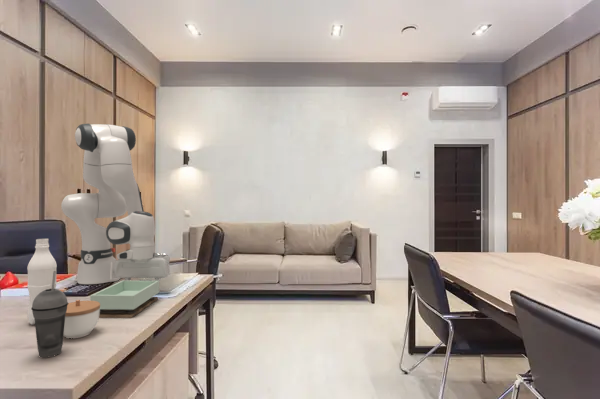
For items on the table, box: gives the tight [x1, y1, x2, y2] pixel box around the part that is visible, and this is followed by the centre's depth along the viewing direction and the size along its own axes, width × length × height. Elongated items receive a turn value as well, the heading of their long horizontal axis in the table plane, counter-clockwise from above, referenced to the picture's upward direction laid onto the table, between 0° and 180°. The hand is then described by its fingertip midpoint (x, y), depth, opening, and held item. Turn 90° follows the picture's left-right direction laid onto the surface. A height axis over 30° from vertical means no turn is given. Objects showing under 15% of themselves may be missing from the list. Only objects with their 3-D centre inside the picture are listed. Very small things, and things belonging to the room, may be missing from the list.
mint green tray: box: [89, 279, 160, 311], centre depth 120 cm, size 20×14×6 cm
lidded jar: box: [63, 299, 100, 340], centre depth 97 cm, size 11×11×9 cm
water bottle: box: [26, 238, 58, 326], centre depth 106 cm, size 7×7×25 cm
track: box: [99, 296, 159, 319], centre depth 120 cm, size 20×20×1 cm
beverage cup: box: [31, 270, 69, 358], centre depth 85 cm, size 7×7×20 cm
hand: (142, 289), depth 137 cm, fingers open, 8 cm apart
